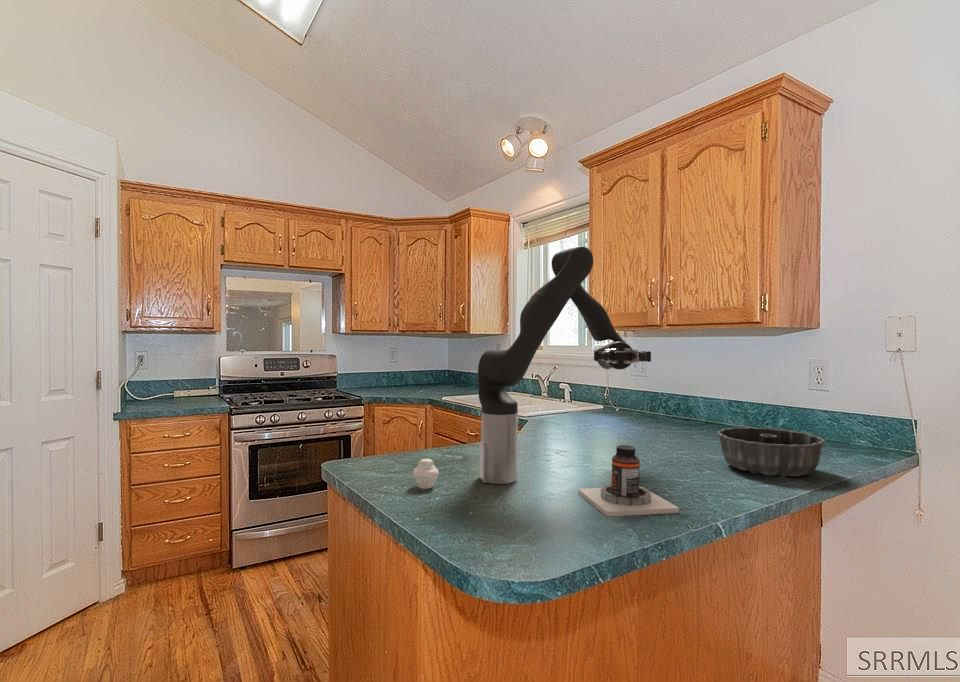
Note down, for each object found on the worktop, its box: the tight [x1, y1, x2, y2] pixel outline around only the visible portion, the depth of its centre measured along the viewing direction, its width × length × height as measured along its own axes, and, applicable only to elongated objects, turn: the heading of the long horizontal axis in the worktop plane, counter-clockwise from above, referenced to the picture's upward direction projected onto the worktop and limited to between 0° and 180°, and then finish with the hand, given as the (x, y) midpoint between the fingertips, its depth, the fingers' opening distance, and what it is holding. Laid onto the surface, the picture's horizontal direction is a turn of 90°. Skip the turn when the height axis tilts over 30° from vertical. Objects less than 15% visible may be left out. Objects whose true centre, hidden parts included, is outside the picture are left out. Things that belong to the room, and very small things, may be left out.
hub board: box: [577, 485, 680, 518], centre depth 111 cm, size 16×16×1 cm
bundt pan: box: [716, 427, 826, 478], centre depth 142 cm, size 26×26×10 cm
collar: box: [601, 484, 652, 506], centre depth 111 cm, size 10×10×2 cm
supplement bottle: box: [611, 444, 641, 497], centre depth 111 cm, size 6×6×11 cm
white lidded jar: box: [412, 458, 440, 490], centre depth 121 cm, size 6×6×7 cm
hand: (624, 356), depth 124 cm, fingers open, 8 cm apart
